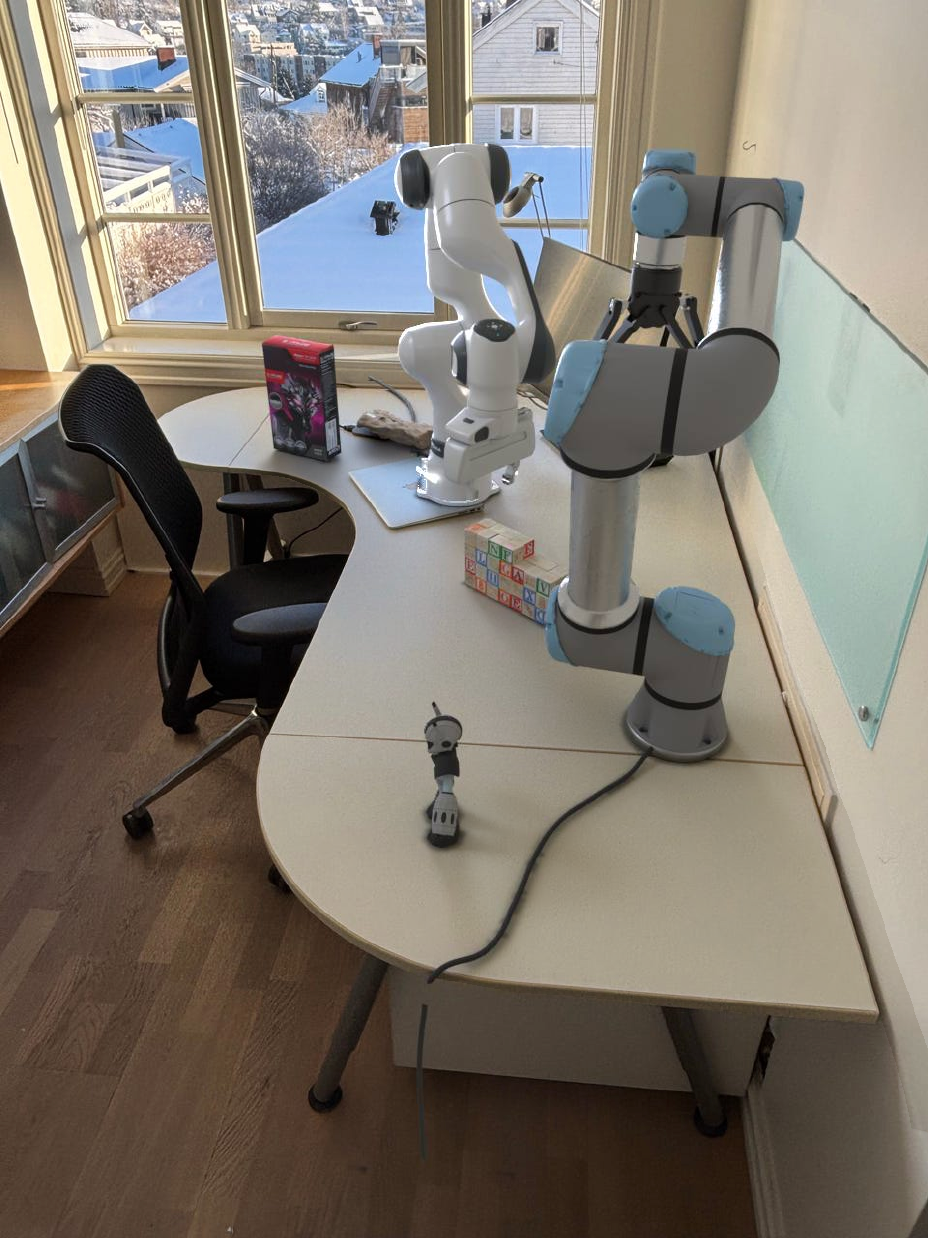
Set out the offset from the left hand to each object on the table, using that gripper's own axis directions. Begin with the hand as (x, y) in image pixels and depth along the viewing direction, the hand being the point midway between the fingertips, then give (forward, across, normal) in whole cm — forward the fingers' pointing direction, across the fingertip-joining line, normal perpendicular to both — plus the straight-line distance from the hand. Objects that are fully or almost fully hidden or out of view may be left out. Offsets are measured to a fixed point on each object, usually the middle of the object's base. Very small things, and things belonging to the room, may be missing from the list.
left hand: (490, 491), depth 167 cm
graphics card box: (+20, -13, -75) cm, 79 cm away
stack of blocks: (+20, 0, +7) cm, 21 cm away
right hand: (-20, -12, +22) cm, 32 cm away
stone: (+19, -34, -67) cm, 77 cm away
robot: (+20, +49, +39) cm, 66 cm away
